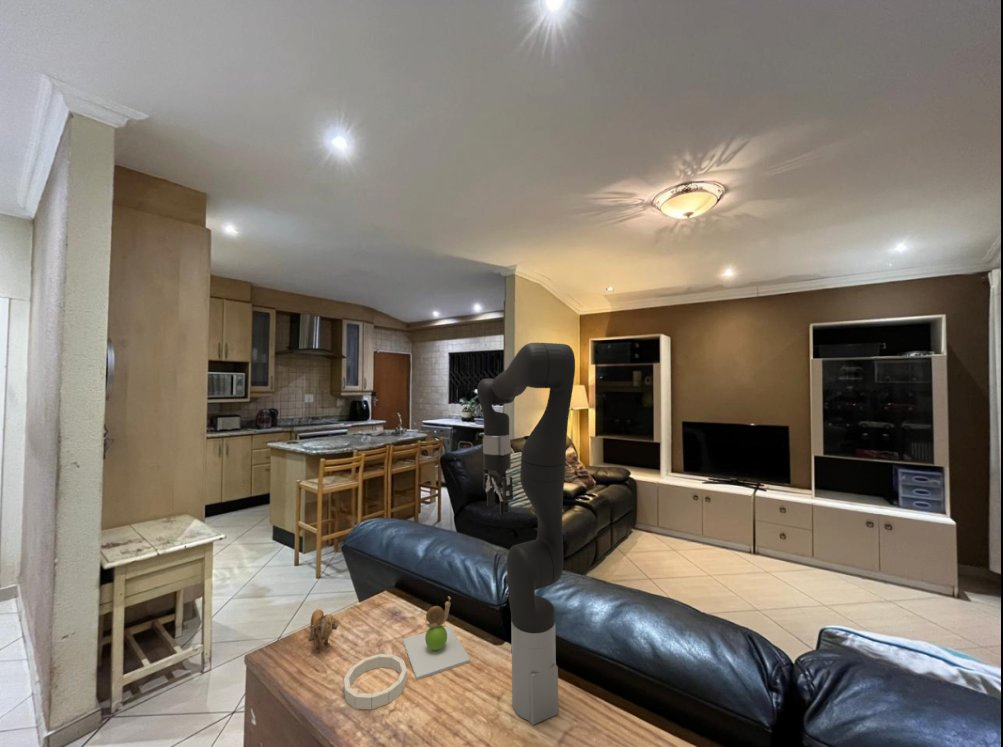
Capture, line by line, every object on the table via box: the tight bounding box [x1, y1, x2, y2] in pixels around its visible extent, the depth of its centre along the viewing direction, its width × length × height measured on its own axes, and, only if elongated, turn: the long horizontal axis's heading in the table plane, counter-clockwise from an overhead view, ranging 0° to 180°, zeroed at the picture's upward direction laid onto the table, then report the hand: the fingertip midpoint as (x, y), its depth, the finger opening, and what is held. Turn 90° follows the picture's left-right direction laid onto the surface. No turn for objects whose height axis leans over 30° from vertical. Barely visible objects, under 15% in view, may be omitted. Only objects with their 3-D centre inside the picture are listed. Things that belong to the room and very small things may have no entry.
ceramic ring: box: [343, 653, 408, 710], centre depth 88 cm, size 13×13×2 cm
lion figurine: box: [308, 609, 340, 653], centre depth 104 cm, size 15×5×9 cm, turn 44°
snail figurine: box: [425, 596, 451, 650], centre depth 100 cm, size 5×6×12 cm
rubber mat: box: [402, 625, 471, 681], centre depth 99 cm, size 15×13×1 cm
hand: (497, 510), depth 109 cm, fingers open, 8 cm apart
